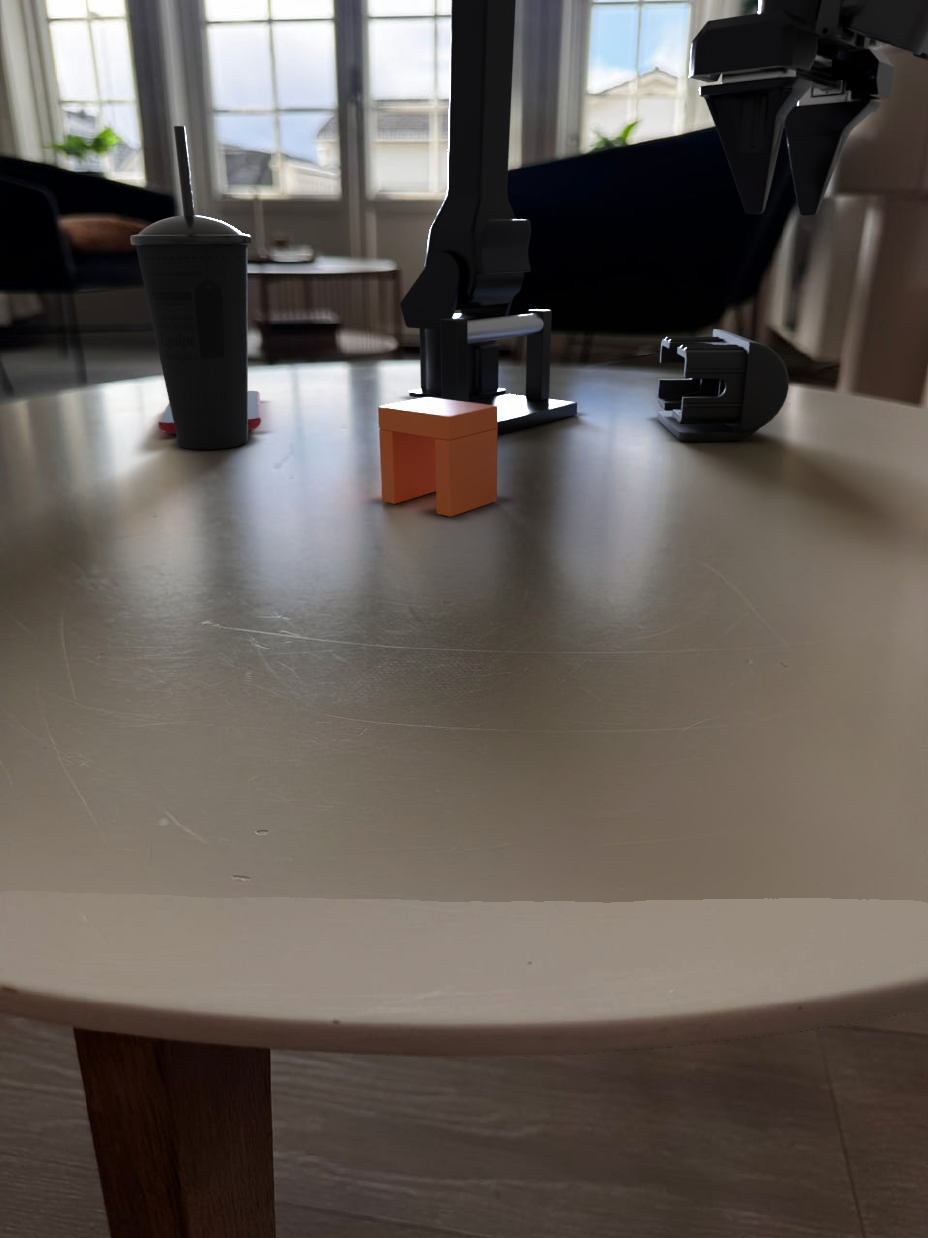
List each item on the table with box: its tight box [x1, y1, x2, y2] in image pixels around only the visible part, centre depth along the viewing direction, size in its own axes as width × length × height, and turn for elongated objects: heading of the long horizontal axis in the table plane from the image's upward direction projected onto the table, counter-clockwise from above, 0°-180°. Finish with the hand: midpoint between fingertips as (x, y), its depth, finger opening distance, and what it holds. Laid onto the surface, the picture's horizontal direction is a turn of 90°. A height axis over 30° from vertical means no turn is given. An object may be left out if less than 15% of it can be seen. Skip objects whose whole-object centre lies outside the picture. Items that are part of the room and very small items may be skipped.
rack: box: [441, 308, 578, 436], centre depth 71 cm, size 7×12×8 cm, turn 141°
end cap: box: [656, 328, 790, 443], centre depth 68 cm, size 10×7×7 cm
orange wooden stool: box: [377, 397, 498, 518], centre depth 50 cm, size 5×4×5 cm
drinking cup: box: [129, 125, 252, 451], centre depth 62 cm, size 8×8×20 cm
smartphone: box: [158, 390, 262, 435], centre depth 75 cm, size 7×1×15 cm
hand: (782, 214), depth 61 cm, fingers open, 9 cm apart
